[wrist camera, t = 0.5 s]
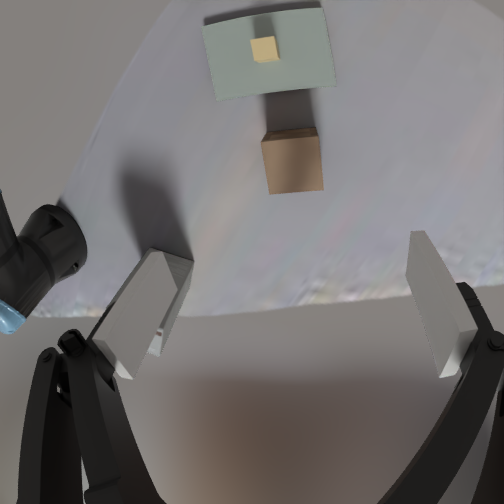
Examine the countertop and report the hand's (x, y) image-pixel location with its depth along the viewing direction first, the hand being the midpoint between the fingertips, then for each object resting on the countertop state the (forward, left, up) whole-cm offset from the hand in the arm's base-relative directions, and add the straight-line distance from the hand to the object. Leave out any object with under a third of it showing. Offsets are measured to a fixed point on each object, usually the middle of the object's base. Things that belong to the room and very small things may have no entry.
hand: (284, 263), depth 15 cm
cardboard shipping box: (0, 0, -24) cm, 24 cm away
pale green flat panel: (-1, +13, -24) cm, 27 cm away
